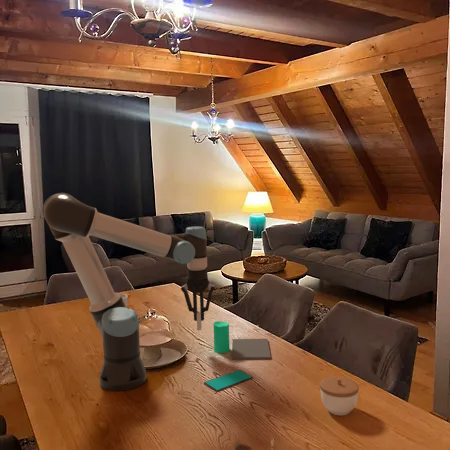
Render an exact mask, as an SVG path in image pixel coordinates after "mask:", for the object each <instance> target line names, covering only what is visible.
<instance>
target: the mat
mask: <svg viewBox="0 0 450 450" xmlns="http://www.w3.org/2000/svg"><path fill="white" fill-rule="evenodd" d="M231 341H232V343H231V347H232V350H231V359H232V360H271V359H272V357H271V351H270V350H271V349H270V345H269V339H268V338H232V340H231Z"/></svg>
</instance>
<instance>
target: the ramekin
mask: <svg viewBox="0 0 450 450" xmlns="http://www.w3.org/2000/svg"><path fill="white" fill-rule="evenodd" d="M119 294H120V295H121V297H122V299H123V301H124V304H125V306H126V308H128V299H129V296H128V295H127V294H126V293H119Z"/></svg>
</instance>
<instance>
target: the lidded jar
mask: <svg viewBox="0 0 450 450" xmlns="http://www.w3.org/2000/svg"><path fill="white" fill-rule="evenodd" d="M319 386H320V390H319V391H320V397H321V401H322V404H323V406H324V407H325V408H326V409H327V410H328V412H329V413H331V414H332V415H335V416H342V417H343V416H347V415H349V414H350V413H351V412H352V411H353V410H354V409H355V407H356V405H357V404H358V399H359V390H360V388H359V384H358V383H357V382H356V381H355V380H353V379H351V378H348V377H344V376H328V377H325V378H323V379H322V380H321V381H320V383H319Z"/></svg>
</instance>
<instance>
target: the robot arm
mask: <svg viewBox="0 0 450 450" xmlns="http://www.w3.org/2000/svg"><path fill="white" fill-rule="evenodd" d="M42 216H43V218H44V219H45V221H46V223H47V225H48V227H49V229H50V231H51V233H52V235H53V237H54V239H55V240H56V241H59V242H61V244H62V245H63V247H64V249H65V251H66V253H67V255H68V257H69V260H70V262H71V264H72V267H73V268H74V270H75V272H76V274H77V276H78V278H79V281H80V282H81V284H82V287H83V289H84V291H85V293H86V296H87V297H88V299H89V302H90V306H89V308H88V309H89V312H90V314H91V316H92V318H93V320H94V323H95V326H96V327H97V329H98V331H99V334H100V335H101V338H102V346H103V347H102V348H103V363H102V367H101V370H100V375H99V386H100V387H101V388H102V389H105V390H107V391H111V392H112V391H114V392H124V391H129V390H133V389H135V388H138V387H140V386H141V385H143V384H145V382H146V380H147V370H146V367H145V365H144V363H143V359H142V357H141V349H140V328H139V327H140V320H139V315H138V313H137V312H136V311H135V309H133V308H129V307H127V308H126V306H125V304H124V301H123V299H122V297H121V295H120V294H121V293H118V292H115V291H114V289H113V286H112V283H111V282H110V280H109V278H108V276H107V275H108V274H107V273H106V271H105V269H104V266H103V265H102V262H101V261H100V258H99V256H98V253H97V252H96V249H95V248H94V245H93V243H92V241H91V238H90V236H92V237H96V238H99V239H101V240H105V241H109V242H111V243H112V242H113V243H114V244H118V245H121V246H126V247H129V248H132V249H136V250H139V251H142V252H146V253H149V254H151V255H155V256H157V257H162V258H166V259H168V260H172V261H175V262H176V263H178V264H180V265H181V264H182V265H187V267H186V268H188V269H186V270H187V281H186V283H185V284H184V285H181V287H180V290H181V291H182V293H183V295H184V298H185V302H186V305H187V309H188V311H189V312H190V313H191V312H192V313H193V321H195V322H196V329H197V331H201V330H202V326H203V325H202V321H203V322H204V321H205V312H208V311H209V308H210V305H211V300H212V295H213V292H214V290H215V289H216V286H215V285H214V284H211V283H210V280H209V279H208V277H209V276H208V275H209V274H208V268H207V267H208V253H207V251H208V249H207V248H208V247H207V243H208V242H207V240H208V238H207V231H206V228H205V227H204V226H199V225H198V226H196V225H195V226H188V227H186V228H185V232H184V233H176V234H174V233H173V234H166V233H163V232H159V231H157V230H154V229H150V228H148V227H144V226H141V225H138V224H135V223H132V222H129V221H126V220H123V219H120V218H116V217H113V216H111V215H107V214H104V213H101V212H99V211H98V210H97V208H96V207H93V206H90V205H87V204H86V203H84V202H81V201H80V200H78V199H77V198H75V196H72V195H71V194H69V193H65V192H58V193H55V194H52V195H50V196H49V197H48V198H47V199H46V200H45V202H44V203H43V206H42ZM188 289H189V290H190V292H192V301H191V299H190V294H189V290H188ZM206 289H208V294H207V298H206V299H207V300H206V304H204V303H205V300H204V298H205V297H204V292H205V291H206ZM198 294H199V305H200V307H199V308H200V310H198V298H197V297H198V296H197V295H198Z"/></svg>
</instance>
